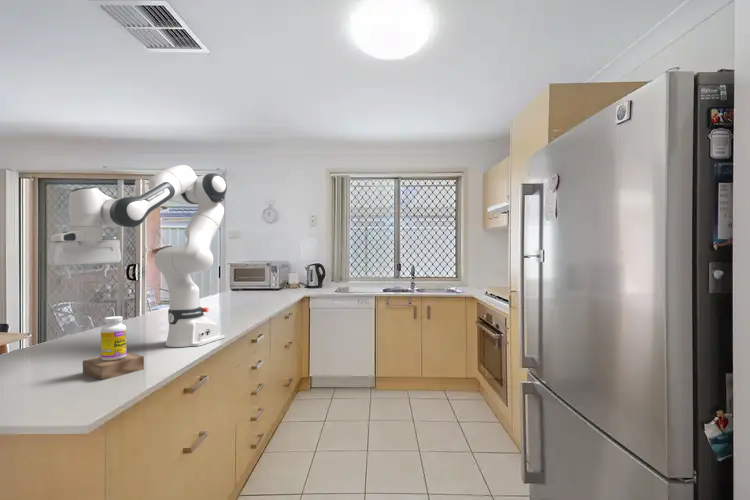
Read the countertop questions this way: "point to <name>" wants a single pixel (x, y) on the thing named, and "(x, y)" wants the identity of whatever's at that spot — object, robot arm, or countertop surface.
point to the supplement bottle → (113, 339)
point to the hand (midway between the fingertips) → (87, 278)
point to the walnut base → (113, 366)
